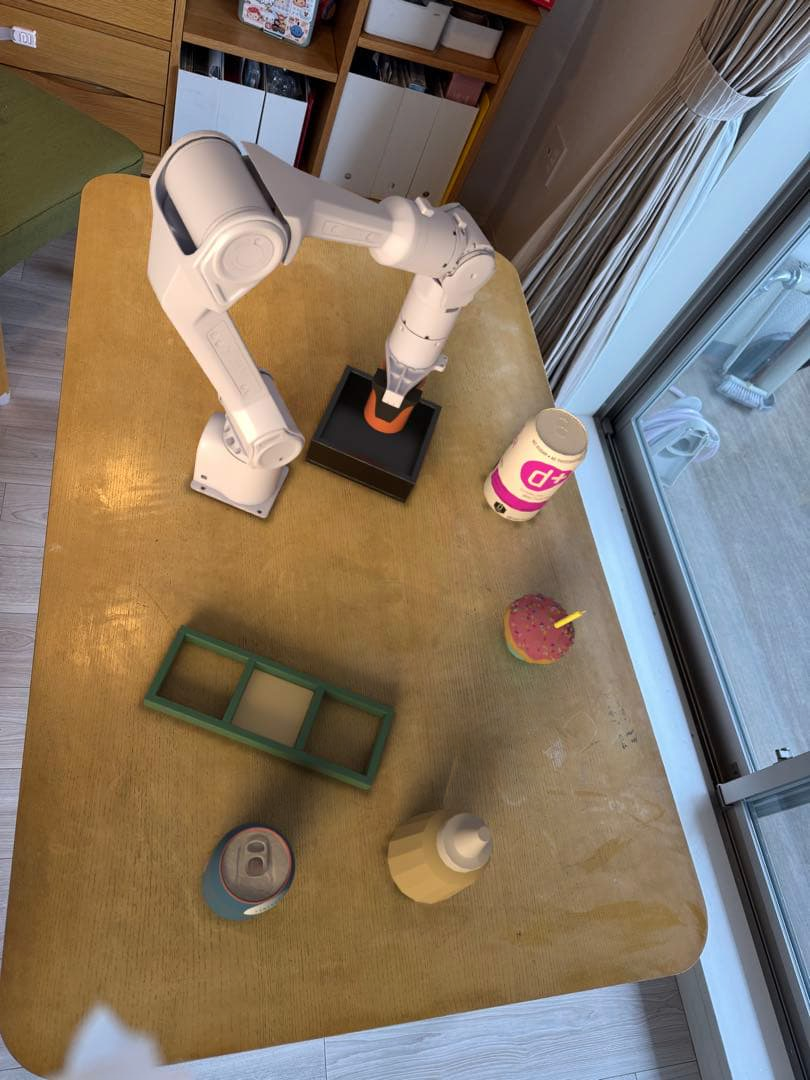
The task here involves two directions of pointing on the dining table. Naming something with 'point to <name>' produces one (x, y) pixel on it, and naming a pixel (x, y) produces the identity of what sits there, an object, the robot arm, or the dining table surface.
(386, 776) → the dining table surface
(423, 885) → the squeeze bottle
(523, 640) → the cupcake
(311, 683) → the rack
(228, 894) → the soda can
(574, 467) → the supplement can
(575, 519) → the dining table surface
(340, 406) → the open box
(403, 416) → the tumbler
